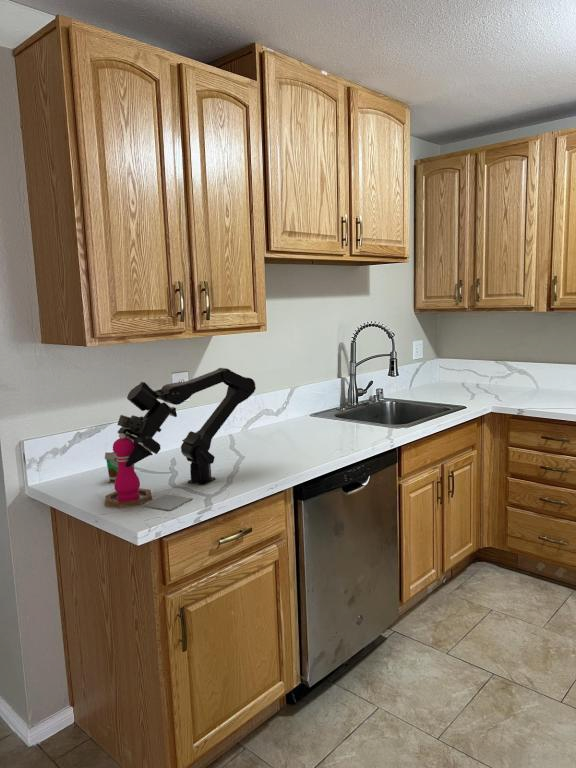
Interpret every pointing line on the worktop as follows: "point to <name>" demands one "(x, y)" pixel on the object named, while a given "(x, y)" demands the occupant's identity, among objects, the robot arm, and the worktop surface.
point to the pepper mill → (125, 471)
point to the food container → (112, 466)
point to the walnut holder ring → (128, 503)
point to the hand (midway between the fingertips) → (120, 463)
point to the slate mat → (167, 502)
